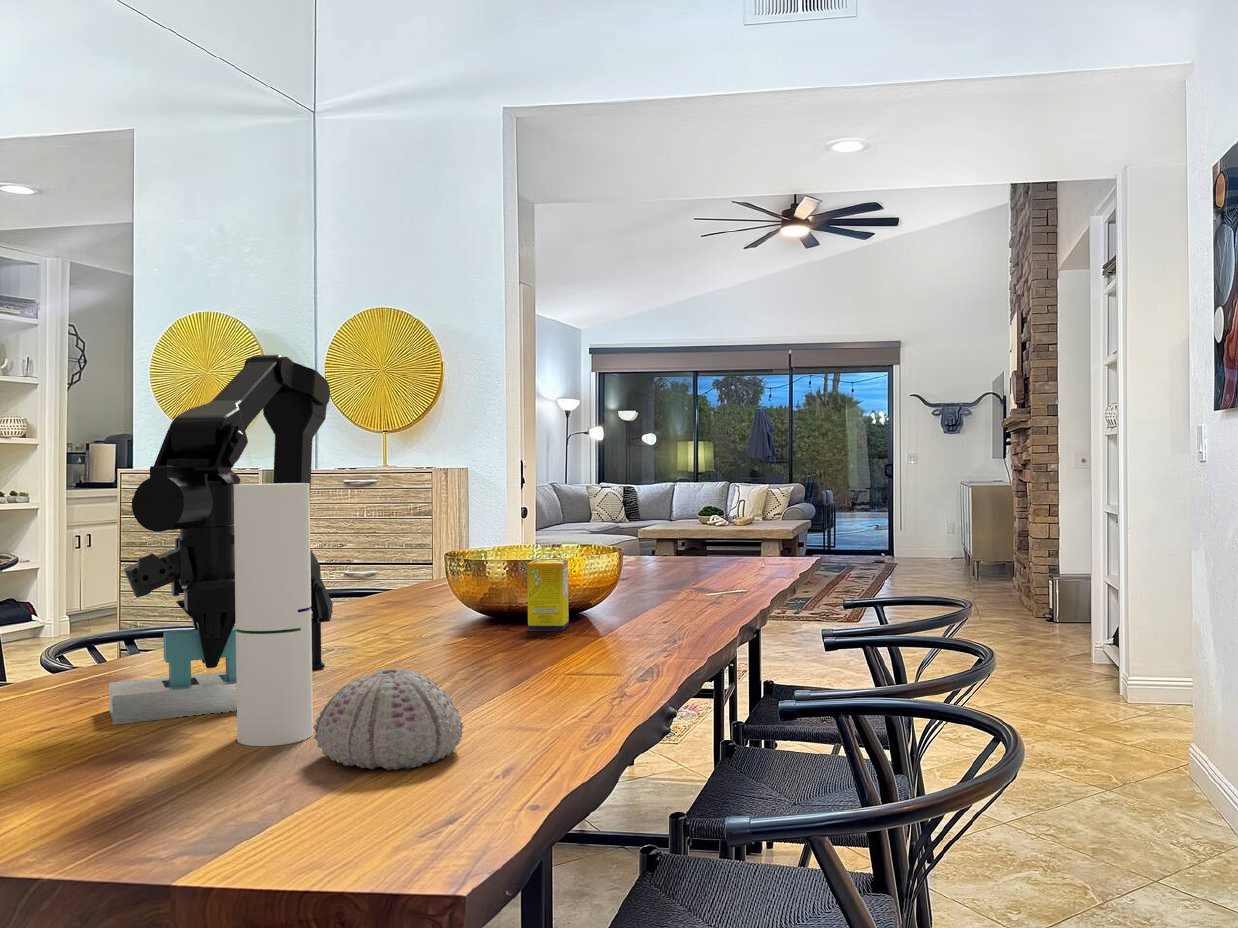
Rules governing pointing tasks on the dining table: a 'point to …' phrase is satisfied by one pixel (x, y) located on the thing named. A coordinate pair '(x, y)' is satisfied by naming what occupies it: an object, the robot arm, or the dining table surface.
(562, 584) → the supplement box
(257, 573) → the cylindrical container
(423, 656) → the dining table surface
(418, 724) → the sea urchin shell
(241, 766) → the dining table surface
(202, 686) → the rail
